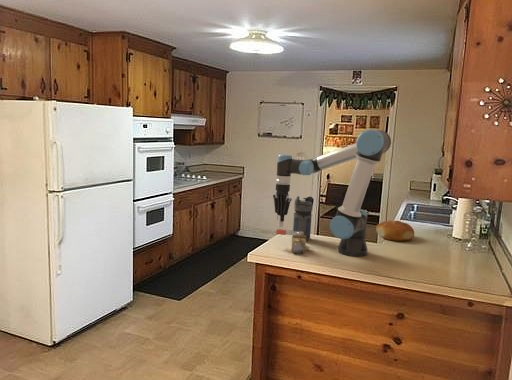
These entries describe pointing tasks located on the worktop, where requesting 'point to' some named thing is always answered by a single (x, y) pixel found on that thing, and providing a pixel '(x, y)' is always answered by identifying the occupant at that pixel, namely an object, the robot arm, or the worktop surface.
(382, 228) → the bread
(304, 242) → the valve pipe
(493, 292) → the worktop surface
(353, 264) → the worktop surface
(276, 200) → the robot arm
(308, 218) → the beverage bottle
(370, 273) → the worktop surface
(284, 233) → the lever
